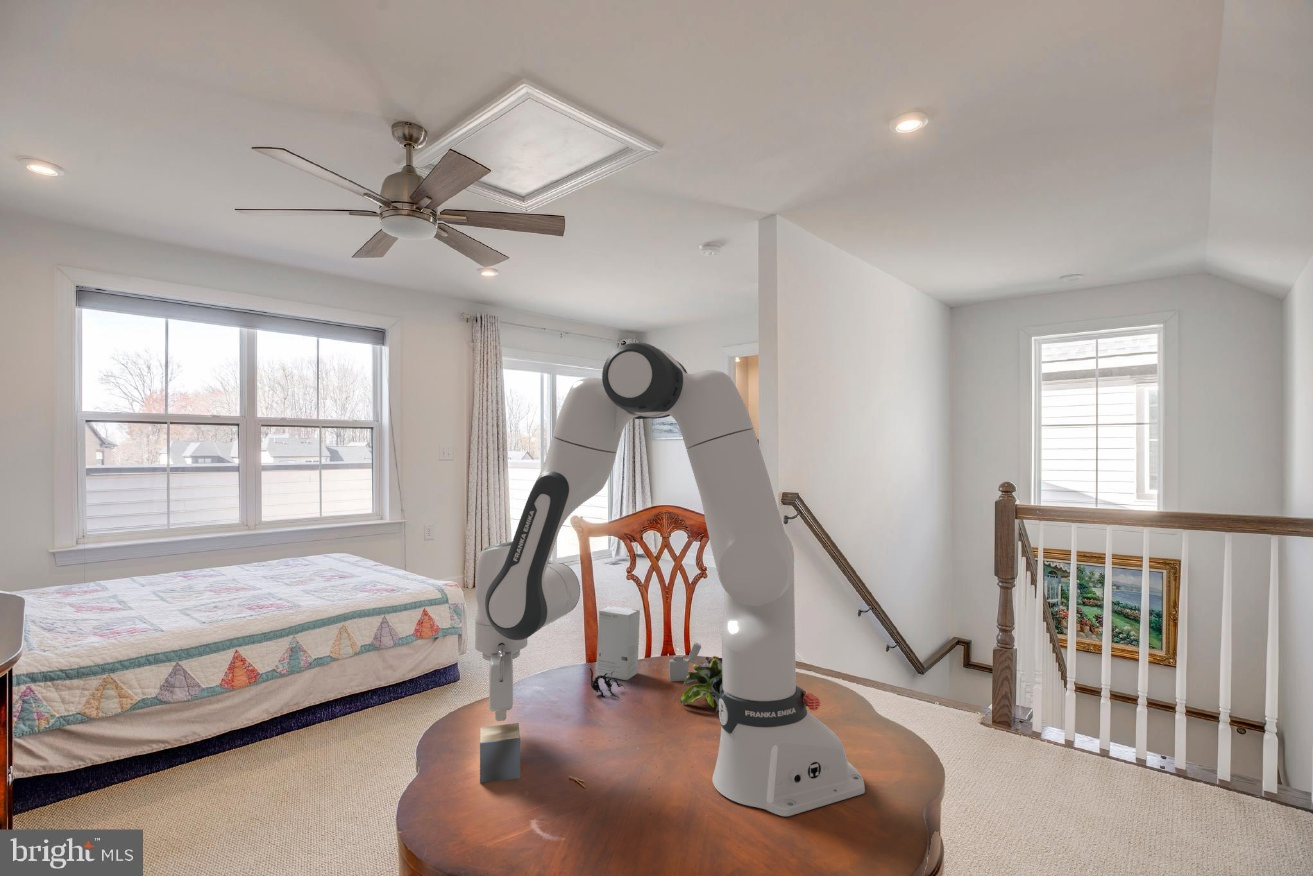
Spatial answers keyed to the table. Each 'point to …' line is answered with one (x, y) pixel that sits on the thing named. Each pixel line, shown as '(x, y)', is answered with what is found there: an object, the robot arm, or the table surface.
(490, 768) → the maple cube
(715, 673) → the green leafy plant
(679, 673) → the lighter
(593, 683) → the creature
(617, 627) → the skincare box
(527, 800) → the table surface
